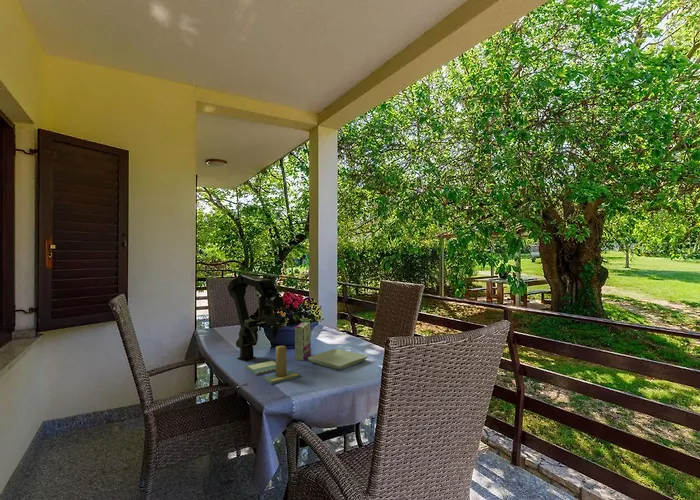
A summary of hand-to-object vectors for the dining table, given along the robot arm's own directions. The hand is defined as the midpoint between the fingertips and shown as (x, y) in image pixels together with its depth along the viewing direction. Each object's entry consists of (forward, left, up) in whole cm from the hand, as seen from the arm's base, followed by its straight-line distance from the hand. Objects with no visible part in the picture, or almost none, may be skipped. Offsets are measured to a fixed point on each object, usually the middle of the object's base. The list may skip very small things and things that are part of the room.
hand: (265, 340), depth 177 cm
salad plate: (+24, +24, -13) cm, 36 cm away
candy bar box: (+5, +20, -12) cm, 24 cm away
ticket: (+3, -3, -12) cm, 13 cm away
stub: (+18, -7, -12) cm, 22 cm away
